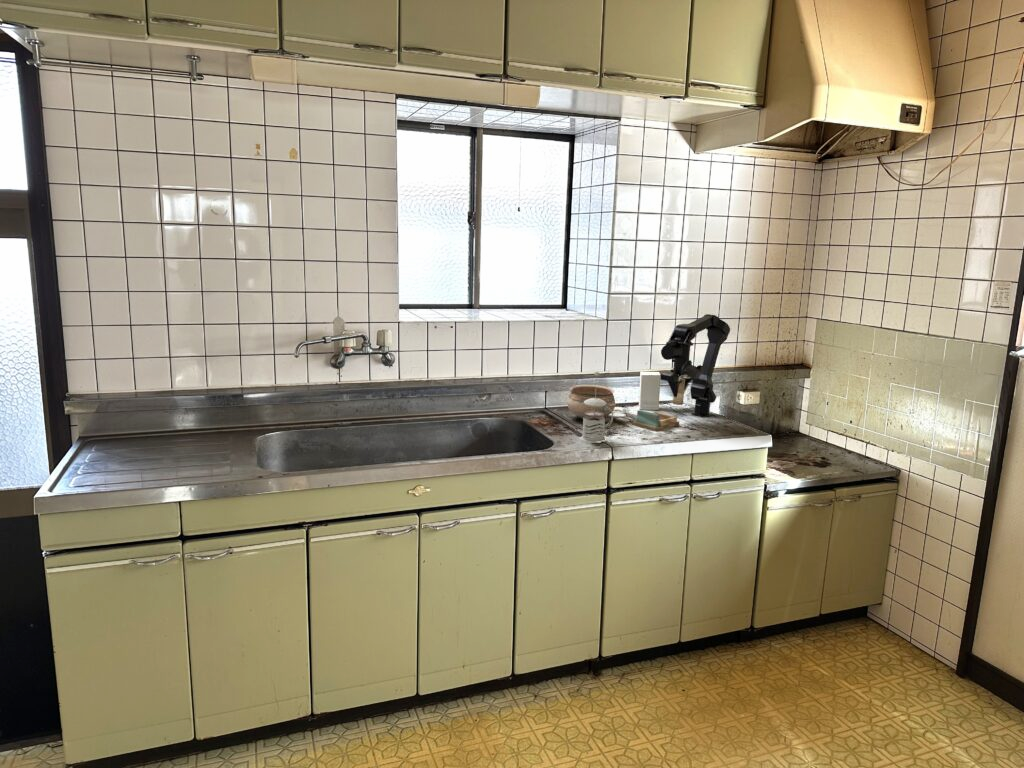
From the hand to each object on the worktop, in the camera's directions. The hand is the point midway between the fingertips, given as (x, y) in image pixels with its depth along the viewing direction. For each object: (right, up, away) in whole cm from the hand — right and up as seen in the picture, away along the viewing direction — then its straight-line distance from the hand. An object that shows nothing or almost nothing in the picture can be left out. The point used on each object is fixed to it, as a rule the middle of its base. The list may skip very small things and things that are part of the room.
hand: (678, 396), depth 282 cm
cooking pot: (-35, -9, +1) cm, 36 cm away
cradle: (-10, -11, -4) cm, 15 cm away
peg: (0, -3, +1) cm, 3 cm away
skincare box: (-8, -6, +22) cm, 24 cm away
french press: (-36, -15, -26) cm, 47 cm away
